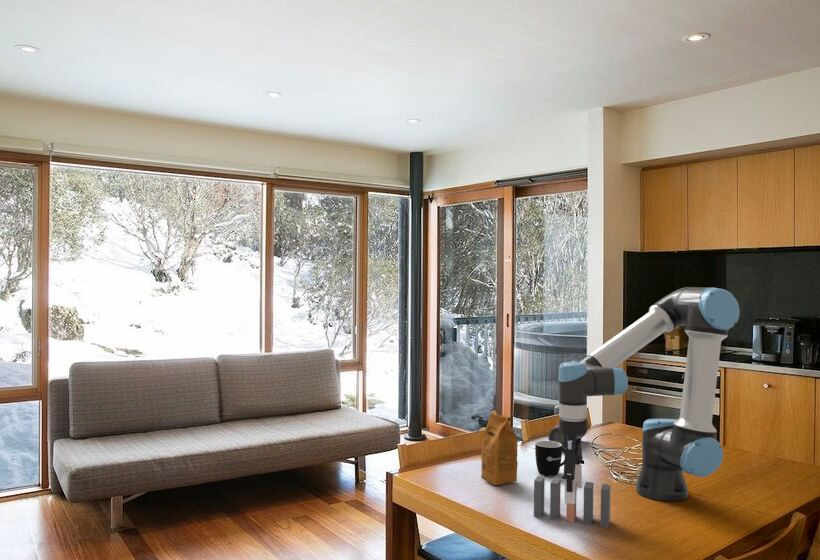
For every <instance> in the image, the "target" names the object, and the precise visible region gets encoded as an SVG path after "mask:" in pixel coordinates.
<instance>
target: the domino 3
mask: <svg viewBox="0 0 820 560" xmlns="http://www.w3.org/2000/svg"><path fill="white" fill-rule="evenodd" d="M577 489H578V488H577V480H575V504H570V503H566V509H565V510H566V513H565V514H566V515H565V516H566V519H565V521H566V522H569V523H575V520H576V518H577V494H578V493H577Z"/></svg>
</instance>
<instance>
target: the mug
mask: <svg viewBox="0 0 820 560" xmlns="http://www.w3.org/2000/svg"><path fill="white" fill-rule="evenodd" d="M534 445H535V446H534V447H535V451H534V452H535V462H536V463H535V465H536V468H537V472H538V474H539V475H540V476H544V475H545V477H555V476H558V475H559V472H560V469H561V467H562V466H563V467H564V460H565V458H564V460H563V461H562V456H563V455H562V454H563V452H564V453H565V449H564V448H562V444H561V443H558V442H555V441H549V440H538V441H536V442H535V444H534Z"/></svg>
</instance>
